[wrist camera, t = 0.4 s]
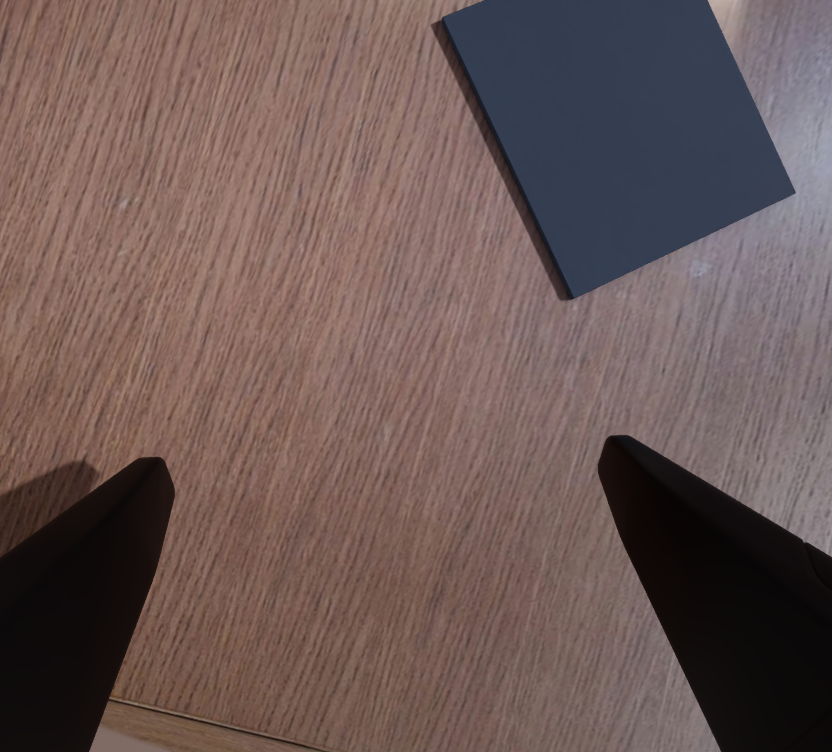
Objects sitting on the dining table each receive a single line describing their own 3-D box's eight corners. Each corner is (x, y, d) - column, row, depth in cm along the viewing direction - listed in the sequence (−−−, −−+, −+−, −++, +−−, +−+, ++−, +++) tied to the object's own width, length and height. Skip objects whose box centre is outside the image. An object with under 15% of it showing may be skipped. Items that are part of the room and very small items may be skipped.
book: (790, 195, 26) (796, 192, 25) (570, 300, 24) (574, 298, 24) (668, -69, 25) (673, -76, 25) (441, 22, 24) (442, 16, 24)
